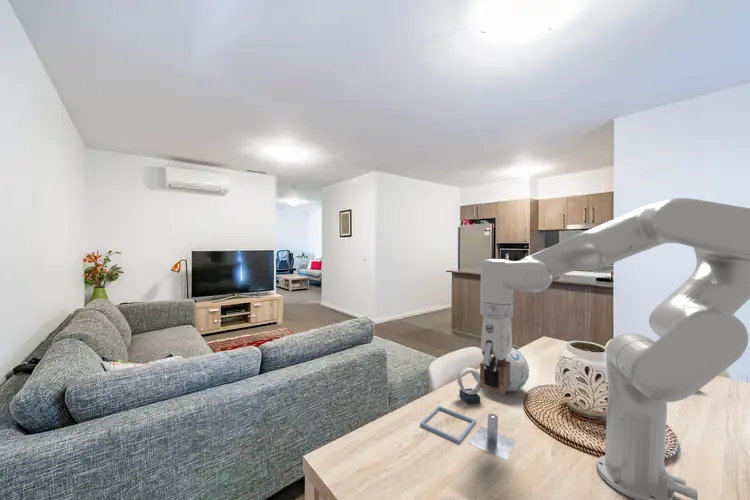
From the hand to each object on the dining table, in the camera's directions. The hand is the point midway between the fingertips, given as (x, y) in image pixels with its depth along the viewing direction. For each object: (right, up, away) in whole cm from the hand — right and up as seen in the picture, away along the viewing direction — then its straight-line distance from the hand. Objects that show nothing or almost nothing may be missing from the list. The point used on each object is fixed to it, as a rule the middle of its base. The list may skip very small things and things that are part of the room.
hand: (495, 380), depth 74 cm
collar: (0, -1, 0) cm, 1 cm away
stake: (-1, -17, +1) cm, 17 cm away
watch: (0, -16, +21) cm, 27 cm away
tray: (-10, -16, +7) cm, 21 cm away
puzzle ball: (+16, -16, +30) cm, 38 cm away
